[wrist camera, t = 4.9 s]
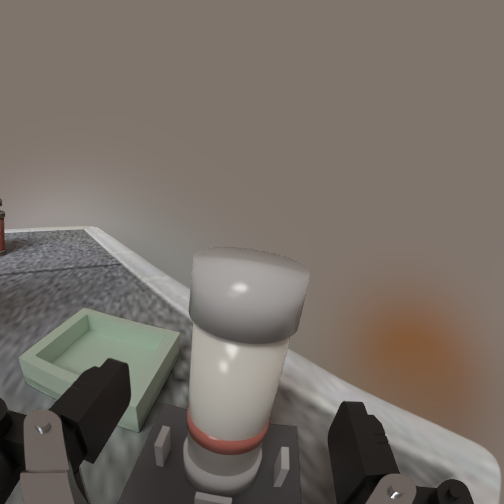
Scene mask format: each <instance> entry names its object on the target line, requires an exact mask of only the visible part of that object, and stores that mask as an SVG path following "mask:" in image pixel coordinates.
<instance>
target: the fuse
mask: <svg viewBox="0 0 504 504" xmlns="http://www.w3.org/2000/svg"><path fill="white" fill-rule="evenodd" d="M309 277H310V271H309V269H308V268H307V267H305V266H304V265H303V264H301V263H299V262H297V261H295V260H292V259H290V258H287V257H284V256H281V255H277V254H274V253H269V252H265V251H259V250H253V249H246V248H235V247H215V248H207V249H203V250H200V251H198V252H196V253H195V254H194V258H193V267H192V279H191V289H190V301H189V315H190V318H191V319H192V321H193V336H192V350H191V366H190V385H189V404H188V407H187V429H188V436H187V438H186V440H185V442H184V448H183V455H184V473H185V476H186V478H187V480H188V481H189V482H190V483H191V484H192V486H194V487H195V488H196V489H198V490H199V491H201V492H203V493H206V494H211V495H217V496H223V497H228V496H234V495H237V494H240V493H242V492H244V491H245V490H247V489H248V488H249V487H250V486H251V485H252V484H253V482H254V480H255V477H256V474H257V471H258V468H259V465H260V462H261V459H262V449H261V445H262V442H263V440H264V438H265V436H266V432H267V429H268V425H269V422H270V414H271V411H272V407H273V403H274V400H275V396H276V392H277V388H278V385H279V381H280V377H281V373H282V369H283V365H284V361H285V357H286V353H287V349H288V345H289V340H290V337H291V336H292V335H294V333H296V331H297V329H298V326H299V322H300V318H301V314H302V309H303V305H304V300H305V296H306V291H307V286H308V282H309Z"/></svg>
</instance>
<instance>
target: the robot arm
mask: <svg viewBox="0 0 504 504" xmlns="http://www.w3.org/2000/svg"><path fill="white" fill-rule="evenodd" d="M130 400H131V385H130V374H129V366H128V364H127V363H125V362H122V361H119V360H115V359H112V358H108V359H107V360H106V361H105V362H104V363H103V364H102V365H101V366H100V367H97V366H93V367H91V368H89V369H87V370H85V371H84V372H83V373H82V374H81V375H80V376H79V377H78V378H77V381H74V383H73V384H72V385H71V387H69V388H68V389H67V390H66V391H65V392H64V393H63V395H62V396H61V397H60V398H59V399H58V400H57V401H56V402H55V403H54V405H53V406H52V407H51V408H50V409H49V410H43V409H41V410H35V411H32V412H31V413H29V414H28V415H24V414H20V413H16V412H13V411H9V410H8V408H7V406H6V404H5V402H4V401H3V400H2V399H1V398H0V504H5V502H6V501H7V499H8V497H9V496H10V494H11V492H12V491H13V489H14V488H15V486H16V484H17V483H18V481H19V480H21V489H22V496H23V502H24V504H91V503H90V500H89V497H88V493H87V490H86V487H85V483H84V479H83V476H82V472H81V468H80V464H81V463H82V461H83V460H86V461H88V462H90V463H92V464H94V462H95V461H96V459H97V457H98V456H99V454H100V452H101V451H102V449H103V447H104V446H105V444H106V442H107V441H108V439H109V437H110V436H111V434H112V432H113V431H114V429H115V427H116V426H117V424H118V423H119V421H120V419H121V418H122V416H123V414H124V413H125V411H126V410H127V408H128V406H129V404H130ZM328 447H329V453H330V459H331V466H332V472H333V479H334V485H335V492H336V500H337V504H474V502H473V500H472V497H471V495H470V492H469V490H468V488H467V486H466V485H465V484H464V483H463V482H461V481H459V480H455V479H450V480H446V481H444V482H443V483H441V484H440V485H439V487H438V488H428V487H418V486H415V484H414V482H413V481H412V480H411V479H410V478H408V477H407V476H405V475H402V474H400V473H399V470H398V467H397V464H396V461H395V459H394V456H393V453H392V450H391V448H390V445H389V444H388V439H387V437H386V436H385V431H384V429H383V426H382V424H381V423H380V421H379V420H378V419H377V418H376V417H375V416H374V415H368V414H367V411H366V408H365V406H364V403H363V402H349V401H343V402H342V403H341V405H340V407H339V409H338V411H337V414H336V416H335V418H334V420H333V422H332V425H331V427H330V429H329V433H328Z"/></svg>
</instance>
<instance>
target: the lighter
mask: <svg viewBox="0 0 504 504" xmlns="http://www.w3.org/2000/svg"><path fill="white" fill-rule="evenodd" d="M0 206H2V200H1V199H0ZM4 217H5V212H4V211H0V256H4V255H6V249H5V239H4Z"/></svg>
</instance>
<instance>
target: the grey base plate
mask: <svg viewBox="0 0 504 504" xmlns="http://www.w3.org/2000/svg"><path fill="white" fill-rule="evenodd" d="M187 436H188V429H187V409H184V408H179V407H175V406H171V405H168V404H164V405H163V407H162V409H161V411H160V414H159V416H158V418H157V420H156V422H155V424H154V426H153V428H152V430H151V433H150V435H149V437H148V439H147V441H146V443H145V445H144V447H143V450H142V452H141V454H140V456H139V458H138V460H137V462H136V465H135V467H134V469H133V471H132V473H131V475H130V478H129V480H128V482H127V484H126V486H125V488H124V491H123V493H122V495H121V497H120V499H119V501H118V504H301V490H300V471H299V454H298V438H297V426H287V425H277V424H269V425H268V429H267V432H266V436H265V438H264V440H263V442H262V445H261V449H262V459H261V462H260V465H259V468H258V471H257V474H256V477H255V480H254V482H253V484H252V485H251V486H250V487H249V488H248V489H247V490H245V491H244V492H242V493H240V494H237V495H234V496H228V497H223V496H217V495H211V494H206V493H203V492H201V491H199V490H198V489H196V488H195V487H194V486H192V484H191V483H190V482H189V481H188V480H187V478H186V476H185V473H184V455H183V448H184V442H185V440H186V438H187Z"/></svg>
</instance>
